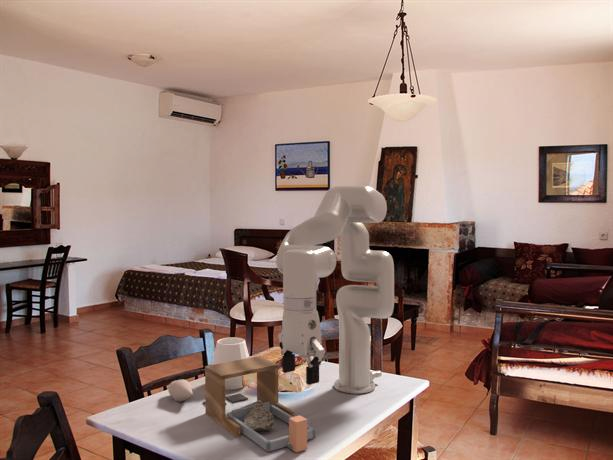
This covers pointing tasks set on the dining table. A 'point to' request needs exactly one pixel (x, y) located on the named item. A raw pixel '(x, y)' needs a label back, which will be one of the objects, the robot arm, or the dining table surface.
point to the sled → (294, 440)
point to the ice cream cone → (180, 390)
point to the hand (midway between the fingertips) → (300, 377)
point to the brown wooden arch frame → (216, 393)
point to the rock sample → (259, 418)
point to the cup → (230, 357)
